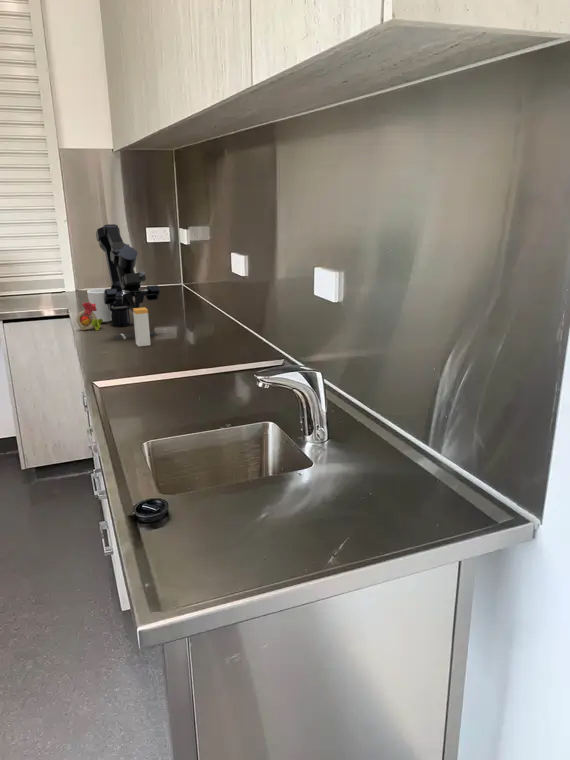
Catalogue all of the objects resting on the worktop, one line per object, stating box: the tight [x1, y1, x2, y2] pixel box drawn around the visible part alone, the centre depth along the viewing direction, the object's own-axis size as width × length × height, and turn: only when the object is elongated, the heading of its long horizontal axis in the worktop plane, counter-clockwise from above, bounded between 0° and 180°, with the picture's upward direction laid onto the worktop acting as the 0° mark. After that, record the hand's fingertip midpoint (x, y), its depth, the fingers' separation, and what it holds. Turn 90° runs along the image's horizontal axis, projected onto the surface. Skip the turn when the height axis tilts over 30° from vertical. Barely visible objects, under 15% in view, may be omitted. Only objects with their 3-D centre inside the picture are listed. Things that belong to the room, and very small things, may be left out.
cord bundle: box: [113, 330, 158, 341], centre depth 212 cm, size 15×5×2 cm, turn 116°
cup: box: [86, 287, 113, 324], centre depth 234 cm, size 10×10×13 cm
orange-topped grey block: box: [132, 307, 151, 347], centre depth 198 cm, size 4×4×12 cm
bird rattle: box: [76, 301, 104, 331], centre depth 222 cm, size 6×11×9 cm
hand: (137, 314), depth 202 cm, fingers closed
